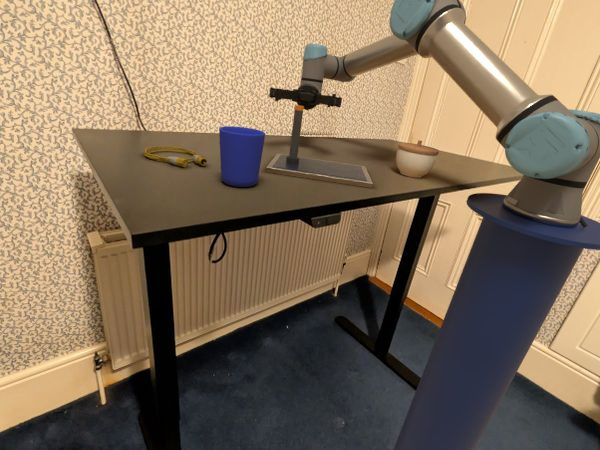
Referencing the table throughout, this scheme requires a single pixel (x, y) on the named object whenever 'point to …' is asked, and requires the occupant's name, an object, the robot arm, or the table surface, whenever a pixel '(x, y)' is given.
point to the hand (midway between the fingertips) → (303, 98)
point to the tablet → (321, 170)
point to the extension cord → (176, 160)
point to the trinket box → (415, 159)
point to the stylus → (295, 135)
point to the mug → (240, 155)
